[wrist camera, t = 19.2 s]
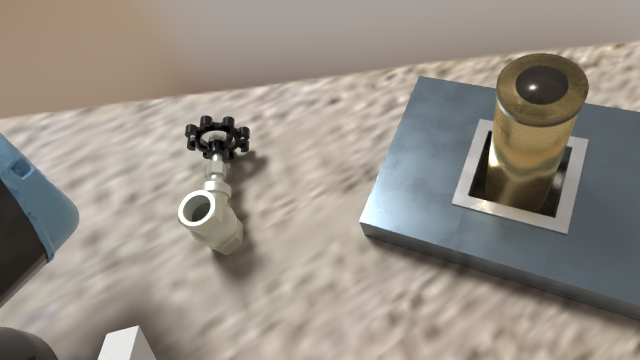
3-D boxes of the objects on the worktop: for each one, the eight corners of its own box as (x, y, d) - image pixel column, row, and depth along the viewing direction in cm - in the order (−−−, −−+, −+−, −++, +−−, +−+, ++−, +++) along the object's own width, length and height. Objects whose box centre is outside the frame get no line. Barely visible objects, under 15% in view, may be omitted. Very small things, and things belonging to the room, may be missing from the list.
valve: (260, 252, 44) (260, 146, 51) (232, 224, 39) (236, 108, 45) (194, 262, 46) (202, 157, 52) (158, 236, 40) (172, 121, 46)
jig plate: (364, 235, 43) (358, 220, 40) (421, 95, 49) (419, 74, 46) (650, 323, 34) (666, 312, 31) (676, 141, 40) (692, 119, 37)
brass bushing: (476, 208, 41) (487, 109, 30) (492, 158, 43) (508, 47, 31) (541, 225, 39) (580, 126, 28) (554, 172, 41) (596, 58, 29)
